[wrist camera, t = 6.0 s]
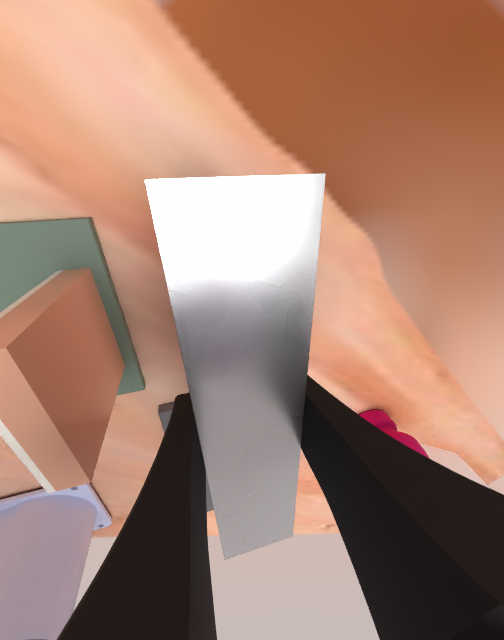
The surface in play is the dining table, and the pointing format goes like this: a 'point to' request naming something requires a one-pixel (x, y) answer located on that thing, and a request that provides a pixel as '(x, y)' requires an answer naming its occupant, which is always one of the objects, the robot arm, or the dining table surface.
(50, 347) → the tile
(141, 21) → the dining table surface
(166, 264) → the bar
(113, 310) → the mat
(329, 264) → the dining table surface
